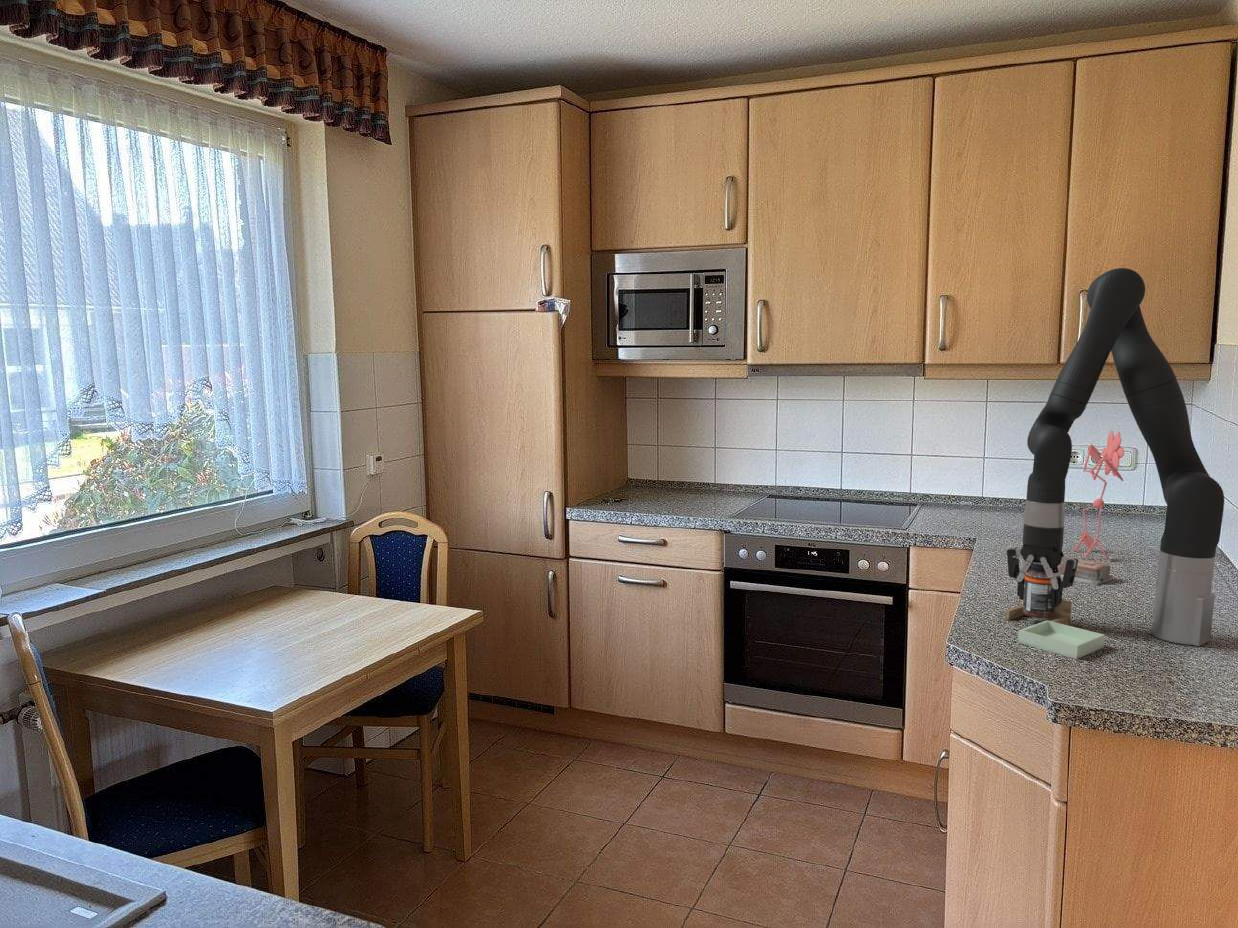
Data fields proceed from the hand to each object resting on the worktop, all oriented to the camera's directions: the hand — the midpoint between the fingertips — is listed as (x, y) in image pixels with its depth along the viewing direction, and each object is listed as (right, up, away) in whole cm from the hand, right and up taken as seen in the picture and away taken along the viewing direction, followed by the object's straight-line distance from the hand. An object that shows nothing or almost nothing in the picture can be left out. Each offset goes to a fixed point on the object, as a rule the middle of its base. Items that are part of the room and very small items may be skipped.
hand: (1038, 602), depth 187 cm
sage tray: (-2, -6, -13) cm, 15 cm away
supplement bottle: (0, -3, 0) cm, 3 cm away
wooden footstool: (0, -4, +1) cm, 4 cm away
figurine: (+48, +3, +63) cm, 79 cm away
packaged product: (+27, 0, +42) cm, 50 cm away
